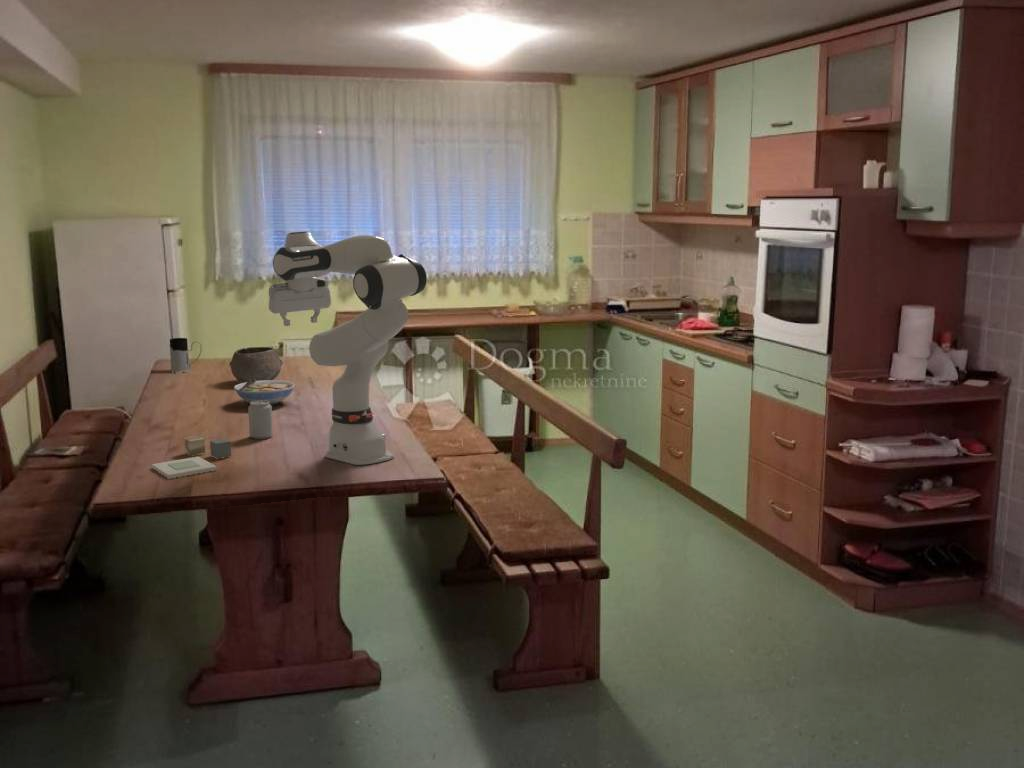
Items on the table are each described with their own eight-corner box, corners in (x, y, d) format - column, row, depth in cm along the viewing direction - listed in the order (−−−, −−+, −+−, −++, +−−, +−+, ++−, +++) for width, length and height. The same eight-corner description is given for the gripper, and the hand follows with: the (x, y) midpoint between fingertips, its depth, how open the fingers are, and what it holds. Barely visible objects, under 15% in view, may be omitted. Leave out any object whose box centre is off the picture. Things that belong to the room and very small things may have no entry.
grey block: (231, 457, 292) (230, 441, 291) (216, 459, 290) (215, 443, 289) (225, 453, 296) (224, 438, 295) (210, 456, 293) (209, 440, 292)
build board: (216, 470, 278) (216, 465, 277) (168, 479, 269) (168, 474, 269) (198, 460, 288) (198, 455, 288) (151, 468, 280) (151, 463, 279)
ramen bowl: (287, 411, 354) (287, 389, 353) (226, 411, 354) (225, 389, 353) (302, 397, 379) (301, 377, 377) (244, 397, 379) (243, 377, 377)
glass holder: (172, 370, 438) (170, 337, 435) (204, 369, 440) (202, 337, 438) (168, 373, 430) (166, 340, 427) (201, 372, 432) (199, 340, 429)
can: (250, 440, 312) (248, 404, 310) (249, 435, 319) (247, 400, 317) (273, 439, 314) (271, 403, 312) (272, 433, 321) (270, 398, 319)
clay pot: (256, 390, 393) (254, 354, 390) (221, 385, 404) (219, 350, 401) (292, 382, 411) (291, 347, 408) (258, 377, 421) (256, 343, 418)
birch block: (205, 454, 295) (204, 438, 294) (190, 456, 293) (189, 441, 292) (199, 451, 299) (198, 435, 298) (185, 453, 296) (184, 438, 295)
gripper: (272, 286, 295) (274, 329, 300) (332, 281, 307) (333, 322, 311) (264, 282, 300) (266, 325, 304) (324, 277, 312) (324, 318, 316)
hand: (300, 323), depth 308 cm, fingers open, 8 cm apart
